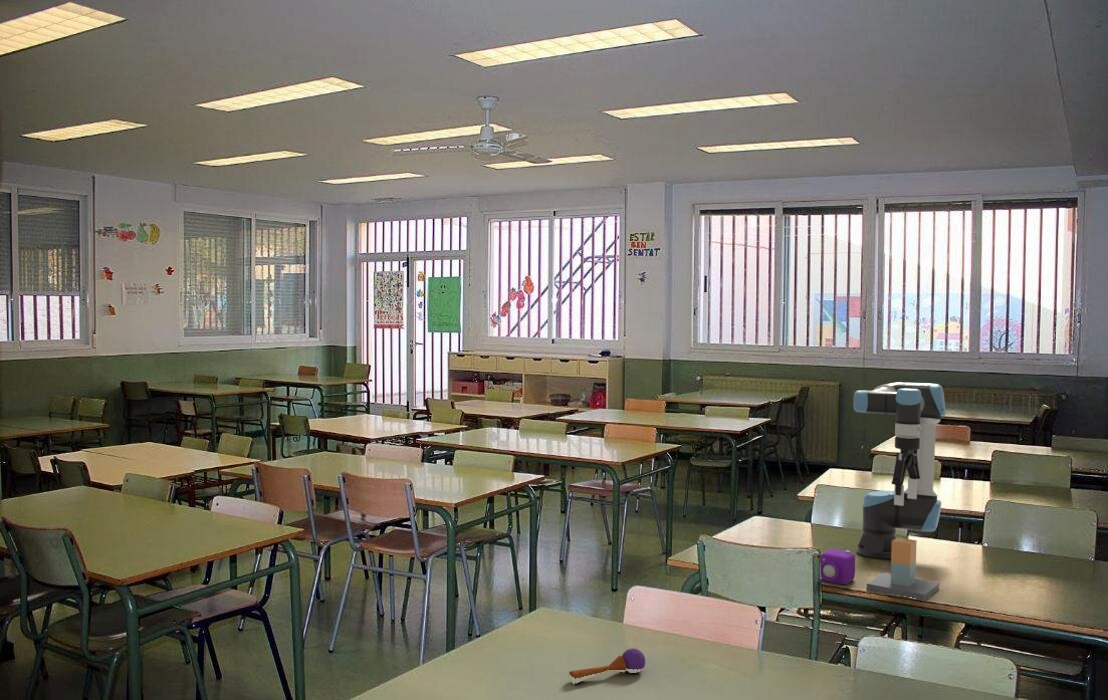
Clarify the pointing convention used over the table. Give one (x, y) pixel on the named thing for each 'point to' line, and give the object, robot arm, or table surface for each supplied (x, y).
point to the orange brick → (903, 551)
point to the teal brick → (903, 574)
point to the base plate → (903, 587)
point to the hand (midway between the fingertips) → (905, 501)
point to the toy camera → (837, 566)
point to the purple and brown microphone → (616, 664)
